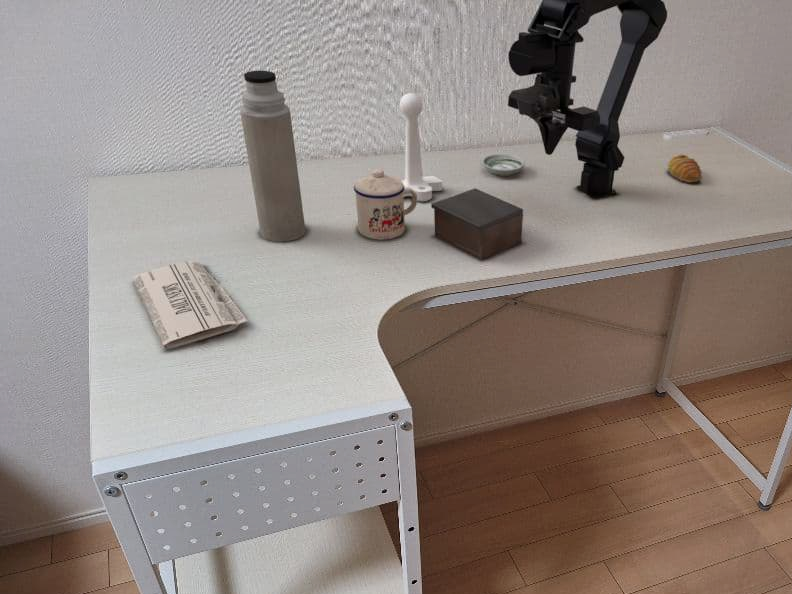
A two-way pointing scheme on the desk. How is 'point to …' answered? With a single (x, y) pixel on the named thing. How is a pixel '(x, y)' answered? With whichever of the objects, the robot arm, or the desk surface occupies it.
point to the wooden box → (479, 235)
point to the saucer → (503, 164)
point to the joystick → (415, 152)
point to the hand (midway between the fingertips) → (548, 154)
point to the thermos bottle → (272, 158)
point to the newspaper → (186, 303)
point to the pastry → (684, 168)
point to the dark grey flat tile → (477, 209)
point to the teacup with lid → (381, 205)
